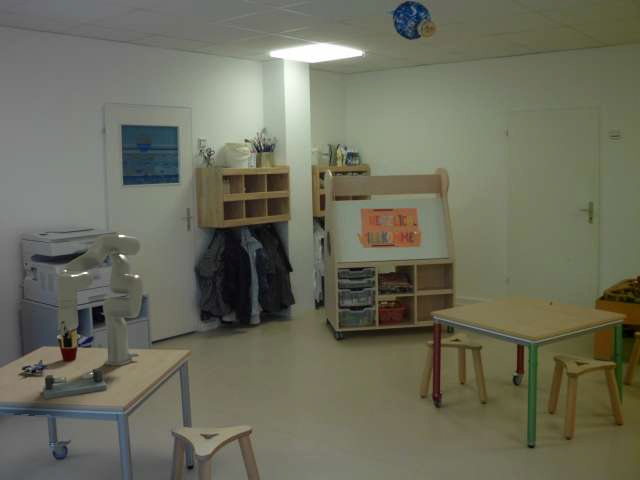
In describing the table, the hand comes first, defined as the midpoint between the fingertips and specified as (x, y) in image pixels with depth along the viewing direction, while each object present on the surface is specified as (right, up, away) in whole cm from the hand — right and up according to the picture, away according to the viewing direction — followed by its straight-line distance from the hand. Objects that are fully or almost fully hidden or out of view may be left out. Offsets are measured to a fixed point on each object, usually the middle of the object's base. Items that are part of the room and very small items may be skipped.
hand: (70, 345), depth 291 cm
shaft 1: (-4, -17, -6) cm, 18 cm away
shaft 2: (+9, -16, 0) cm, 18 cm away
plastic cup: (-16, -14, +44) cm, 49 cm away
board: (+3, -18, -3) cm, 19 cm away
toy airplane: (-24, -17, +21) cm, 36 cm away
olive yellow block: (0, -1, 0) cm, 1 cm away
